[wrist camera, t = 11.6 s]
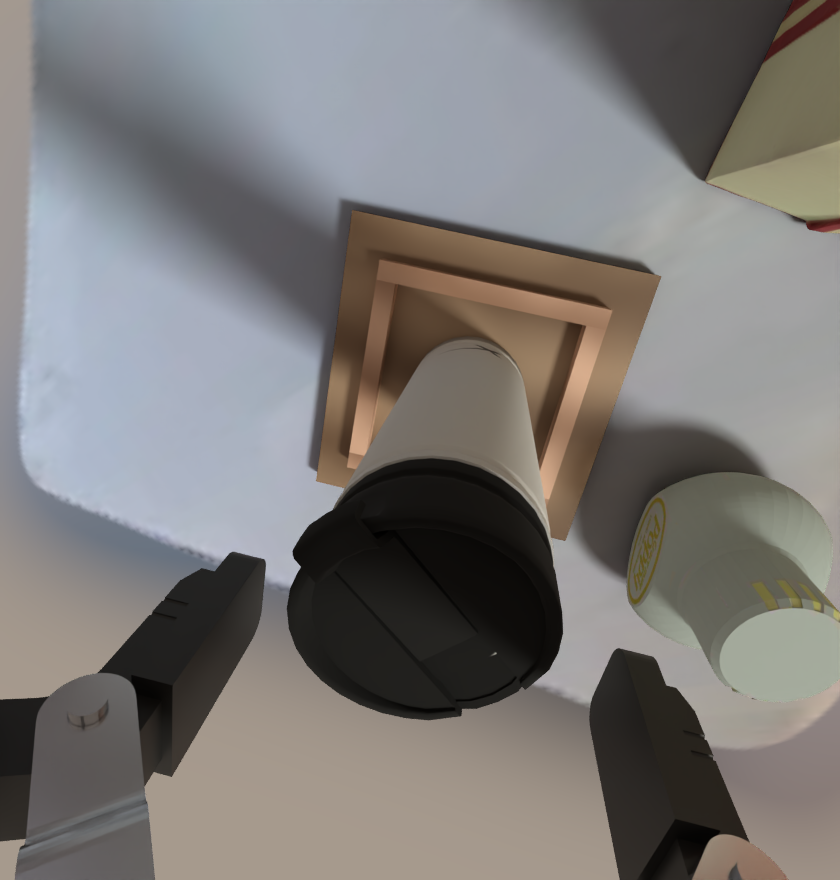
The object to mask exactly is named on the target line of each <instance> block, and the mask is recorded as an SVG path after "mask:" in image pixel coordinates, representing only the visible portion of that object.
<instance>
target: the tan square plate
mask: <svg viewBox="0 0 840 880" xmlns="http://www.w3.org/2000/svg"><path fill="white" fill-rule="evenodd" d="M660 279H661V276H658V275H654V274H649V273H645V272H640V271H635V270H631V269H626V268H621V267H617V266H612V265H607V264H603V263H598V262H593V261H589V260H584V259H579V258H575V257H570V256H565V255H561V254H556V253H551V252H547V251H542V250H537V249H533V248H528V247H523V246H519V245H514V244H509V243H505V242H500V241H495V240H491V239H486V238H481V237H477V236H472V235H467V234H463V233H458V232H453V231H449V230H444V229H439V228H435V227H430V226H425V225H421V224H416V223H411V222H407V221H402V220H397V219H393V218H388V217H383V216H379V215H374V214H369V213H365V212H360V211H355V210H352V215H351V222H350V230H349V237H348V245H347V253H346V260H345V268H344V275H343V283H342V290H341V298H340V305H339V313H338V320H337V328H336V335H335V343H334V351H333V358H332V366H331V373H330V381H329V388H328V396H327V403H326V411H325V418H324V426H323V434H322V441H321V449H320V456H319V464H318V471H317V479H316V481H317V482H321V483H326V484H330V485H334V486H338V487H342V488H345V487H346V485H347V484H348V482H349V480H350V479H351V477H352V475H353V474H354V472H355V470H356V469H357V467H358V465H359V464H360V462H361V460H362V459H363V457H364V455H365V454H366V452H367V450H368V449H369V447H370V445H371V444H372V442H373V440H374V439H375V437H376V435H377V434H378V432H379V430H380V429H381V427H382V425H383V424H384V422H385V420H386V419H387V417H388V415H389V414H390V412H391V410H392V409H393V407H394V405H395V404H396V402H397V400H398V399H399V397H400V395H401V394H402V392H403V390H404V389H405V387H406V385H407V384H408V382H409V381H410V379H411V377H412V376H413V374H414V372H415V371H416V369H417V367H418V366H419V364H420V362H421V361H422V360H423V358H424V357H425V356H426V354H427V353H428V352H430V351H431V350H432V349H433V348H434V347H435V346H437V345H439V344H441V343H443V342H444V341H447V340H450V339H453V338H457V337H465V336H470V337H480V338H483V339H487V340H490V341H492V342H494V343H496V344H498V345H499V346H501V347H502V348H503V349H505V350H506V351H507V352H508V353H509V354H510V355H511V356H512V358H513V359H514V360H515V361H516V363H517V365H518V367H519V369H520V371H521V374H522V378H523V381H524V386H525V392H526V398H527V403H528V409H529V414H530V420H531V426H532V431H533V437H534V442H535V448H536V454H537V459H538V465H539V470H540V476H541V482H542V487H543V493H544V498H545V504H546V510H547V515H548V521H549V526H550V535H551V538H555V539H559V540H563V541H565V540H566V538H567V535H568V532H569V529H570V527H571V524H572V521H573V518H574V516H575V513H576V510H577V507H578V505H579V502H580V499H581V496H582V494H583V491H584V488H585V485H586V483H587V480H588V477H589V474H590V472H591V469H592V466H593V463H594V461H595V458H596V455H597V452H598V450H599V447H600V444H601V441H602V439H603V436H604V433H605V430H606V428H607V425H608V422H609V419H610V417H611V414H612V411H613V408H614V406H615V403H616V400H617V397H618V395H619V392H620V389H621V386H622V384H623V381H624V378H625V375H626V373H627V370H628V367H629V364H630V361H631V359H632V356H633V353H634V350H635V348H636V345H637V342H638V339H639V337H640V334H641V331H642V328H643V326H644V323H645V320H646V317H647V315H648V312H649V309H650V306H651V304H652V301H653V298H654V295H655V293H656V290H657V287H658V284H659V282H660Z"/></svg>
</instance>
